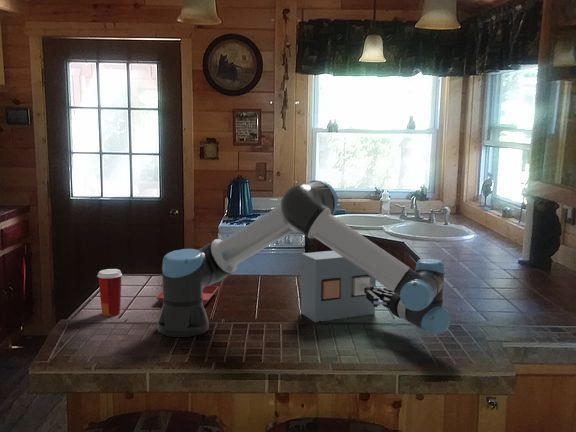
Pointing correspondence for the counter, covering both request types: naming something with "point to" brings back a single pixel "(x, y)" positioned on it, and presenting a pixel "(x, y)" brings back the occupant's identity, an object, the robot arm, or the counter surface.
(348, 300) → the box
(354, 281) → the cream button
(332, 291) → the rust button
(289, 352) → the counter surface
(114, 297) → the paper cup
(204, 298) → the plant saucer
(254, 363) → the counter surface
